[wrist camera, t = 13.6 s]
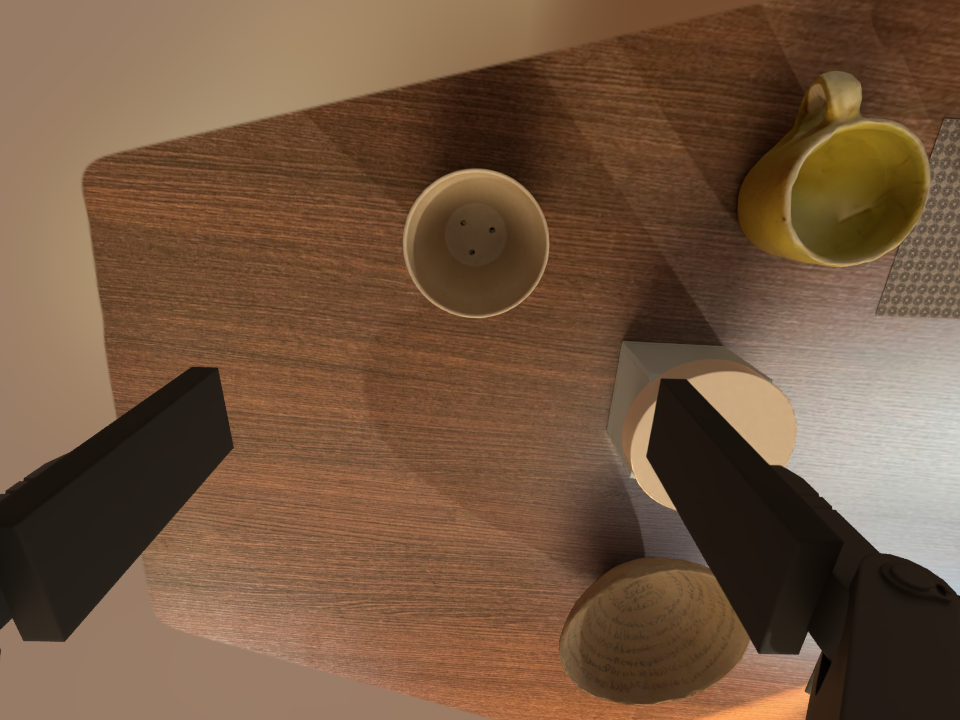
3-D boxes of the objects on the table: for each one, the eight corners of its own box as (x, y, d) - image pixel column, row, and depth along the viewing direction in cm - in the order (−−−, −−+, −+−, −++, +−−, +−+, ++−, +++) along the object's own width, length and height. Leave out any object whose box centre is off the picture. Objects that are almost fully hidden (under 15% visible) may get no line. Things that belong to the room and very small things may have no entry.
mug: (871, 264, 38) (944, 263, 29) (728, 270, 41) (752, 270, 32) (887, 99, 36) (971, 39, 27) (735, 119, 39) (762, 73, 30)
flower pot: (416, 293, 41) (404, 316, 34) (414, 167, 37) (400, 165, 30) (532, 297, 41) (543, 320, 34) (542, 172, 37) (556, 171, 31)
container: (621, 340, 42) (650, 373, 35) (724, 345, 43) (772, 379, 35) (606, 431, 46) (629, 478, 39) (701, 435, 46) (741, 483, 39)
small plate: (635, 354, 35) (646, 366, 32) (797, 362, 35) (819, 375, 33) (610, 491, 39) (618, 510, 37) (754, 497, 39) (771, 516, 37)
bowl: (710, 633, 55) (746, 705, 48) (552, 646, 56) (564, 718, 49) (722, 503, 49) (766, 562, 41) (542, 519, 49) (554, 581, 42)
